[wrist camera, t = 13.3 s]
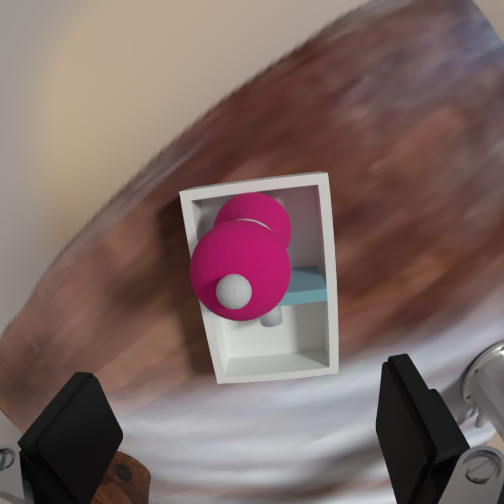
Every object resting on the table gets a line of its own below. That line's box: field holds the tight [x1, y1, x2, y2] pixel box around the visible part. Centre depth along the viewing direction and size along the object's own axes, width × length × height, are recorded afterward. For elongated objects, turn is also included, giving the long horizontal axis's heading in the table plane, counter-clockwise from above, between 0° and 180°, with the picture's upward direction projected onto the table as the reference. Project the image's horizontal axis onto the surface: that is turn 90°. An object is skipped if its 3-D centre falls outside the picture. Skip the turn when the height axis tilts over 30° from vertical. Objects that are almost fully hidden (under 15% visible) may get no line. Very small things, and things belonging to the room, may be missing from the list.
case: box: [90, 451, 151, 504], centre depth 42 cm, size 18×20×18 cm
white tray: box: [180, 172, 338, 384], centre depth 35 cm, size 22×14×5 cm, turn 8°
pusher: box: [206, 266, 327, 327], centre depth 33 cm, size 5×11×7 cm, turn 98°
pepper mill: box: [190, 192, 291, 321], centre depth 25 cm, size 7×7×20 cm
